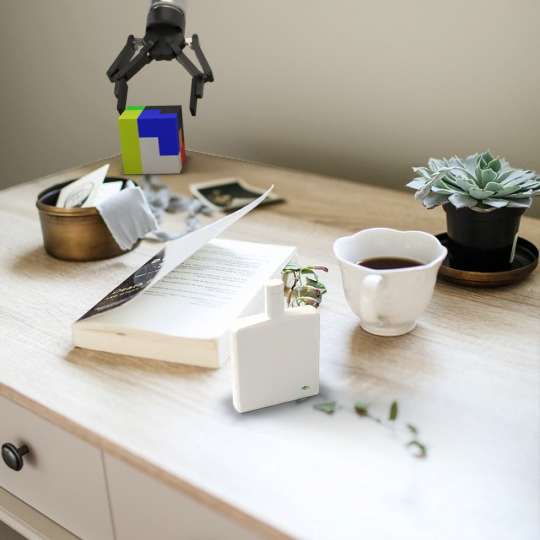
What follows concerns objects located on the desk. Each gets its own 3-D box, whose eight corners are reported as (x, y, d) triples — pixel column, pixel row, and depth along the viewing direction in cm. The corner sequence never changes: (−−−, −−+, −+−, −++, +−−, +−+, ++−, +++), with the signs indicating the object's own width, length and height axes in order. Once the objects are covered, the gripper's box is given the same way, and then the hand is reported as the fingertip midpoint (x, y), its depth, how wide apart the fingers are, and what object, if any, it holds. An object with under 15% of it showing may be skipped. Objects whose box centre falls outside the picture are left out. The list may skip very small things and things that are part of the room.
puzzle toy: (179, 173, 121) (175, 117, 116) (124, 174, 121) (117, 119, 116) (185, 157, 130) (181, 105, 125) (134, 158, 130) (128, 106, 125)
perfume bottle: (312, 382, 63) (313, 269, 58) (320, 394, 62) (322, 278, 56) (231, 401, 61) (224, 285, 56) (237, 414, 59) (231, 295, 54)
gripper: (232, 29, 134) (225, 122, 127) (110, 30, 136) (97, 123, 129) (227, 3, 127) (220, 100, 120) (98, 5, 129) (84, 101, 122)
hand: (156, 112), depth 124 cm, fingers open, 13 cm apart
